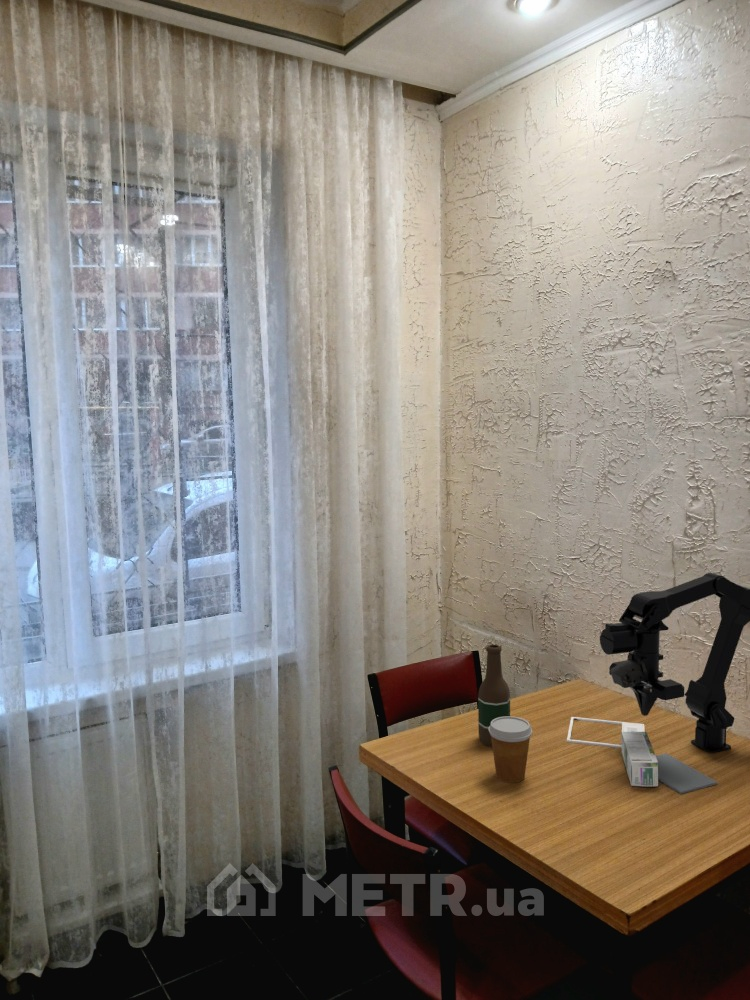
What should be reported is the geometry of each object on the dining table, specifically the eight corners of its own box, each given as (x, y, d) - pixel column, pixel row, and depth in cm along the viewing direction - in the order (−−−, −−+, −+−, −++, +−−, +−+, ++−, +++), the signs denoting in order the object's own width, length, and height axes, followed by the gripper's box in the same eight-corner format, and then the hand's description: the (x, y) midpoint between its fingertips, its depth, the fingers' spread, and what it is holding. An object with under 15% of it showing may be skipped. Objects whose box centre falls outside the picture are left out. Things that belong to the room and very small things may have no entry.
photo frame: (645, 748, 178) (566, 739, 183) (645, 752, 178) (566, 743, 183) (644, 723, 191) (571, 716, 197) (644, 727, 191) (571, 720, 197)
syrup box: (647, 754, 174) (660, 787, 160) (620, 754, 175) (631, 787, 161) (646, 730, 173) (659, 762, 159) (619, 731, 174) (630, 762, 160)
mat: (666, 755, 175) (666, 753, 175) (717, 784, 161) (717, 782, 161) (631, 763, 171) (631, 761, 171) (680, 794, 158) (680, 791, 157)
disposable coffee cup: (484, 782, 164) (484, 730, 163) (493, 763, 173) (493, 713, 172) (528, 789, 161) (528, 735, 160) (535, 769, 170) (535, 718, 169)
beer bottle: (512, 747, 181) (512, 650, 178) (480, 747, 181) (479, 651, 178) (507, 733, 189) (507, 640, 186) (476, 734, 189) (475, 641, 186)
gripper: (590, 643, 177) (590, 706, 179) (646, 667, 160) (644, 737, 162) (629, 636, 182) (628, 699, 183) (687, 659, 164) (685, 728, 166)
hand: (644, 715), depth 174 cm, fingers closed
